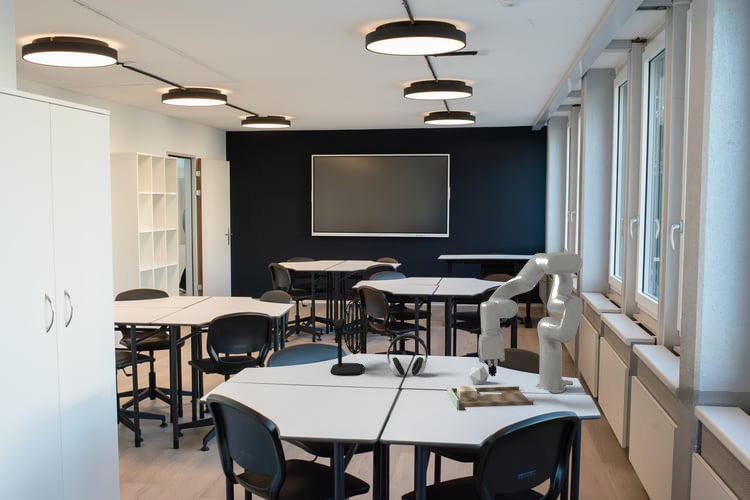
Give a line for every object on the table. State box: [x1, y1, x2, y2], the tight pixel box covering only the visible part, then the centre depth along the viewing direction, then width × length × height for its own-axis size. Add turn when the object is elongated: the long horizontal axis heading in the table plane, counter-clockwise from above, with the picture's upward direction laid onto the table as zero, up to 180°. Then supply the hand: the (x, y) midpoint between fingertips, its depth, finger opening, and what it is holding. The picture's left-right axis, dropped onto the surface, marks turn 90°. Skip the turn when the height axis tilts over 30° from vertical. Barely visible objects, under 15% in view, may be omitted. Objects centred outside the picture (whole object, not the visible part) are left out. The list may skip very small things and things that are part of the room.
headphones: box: [386, 333, 429, 377], centre depth 330 cm, size 19×8×20 cm, turn 91°
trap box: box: [451, 385, 534, 411], centre depth 289 cm, size 30×22×3 cm
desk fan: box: [330, 298, 369, 376], centre depth 340 cm, size 27×18×35 cm, turn 176°
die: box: [468, 366, 490, 386], centre depth 315 cm, size 8×9×10 cm
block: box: [456, 385, 477, 401], centre depth 289 cm, size 7×7×4 cm
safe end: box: [446, 384, 460, 411], centre depth 288 cm, size 1×22×4 cm, turn 4°
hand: (492, 375), depth 289 cm, fingers closed
